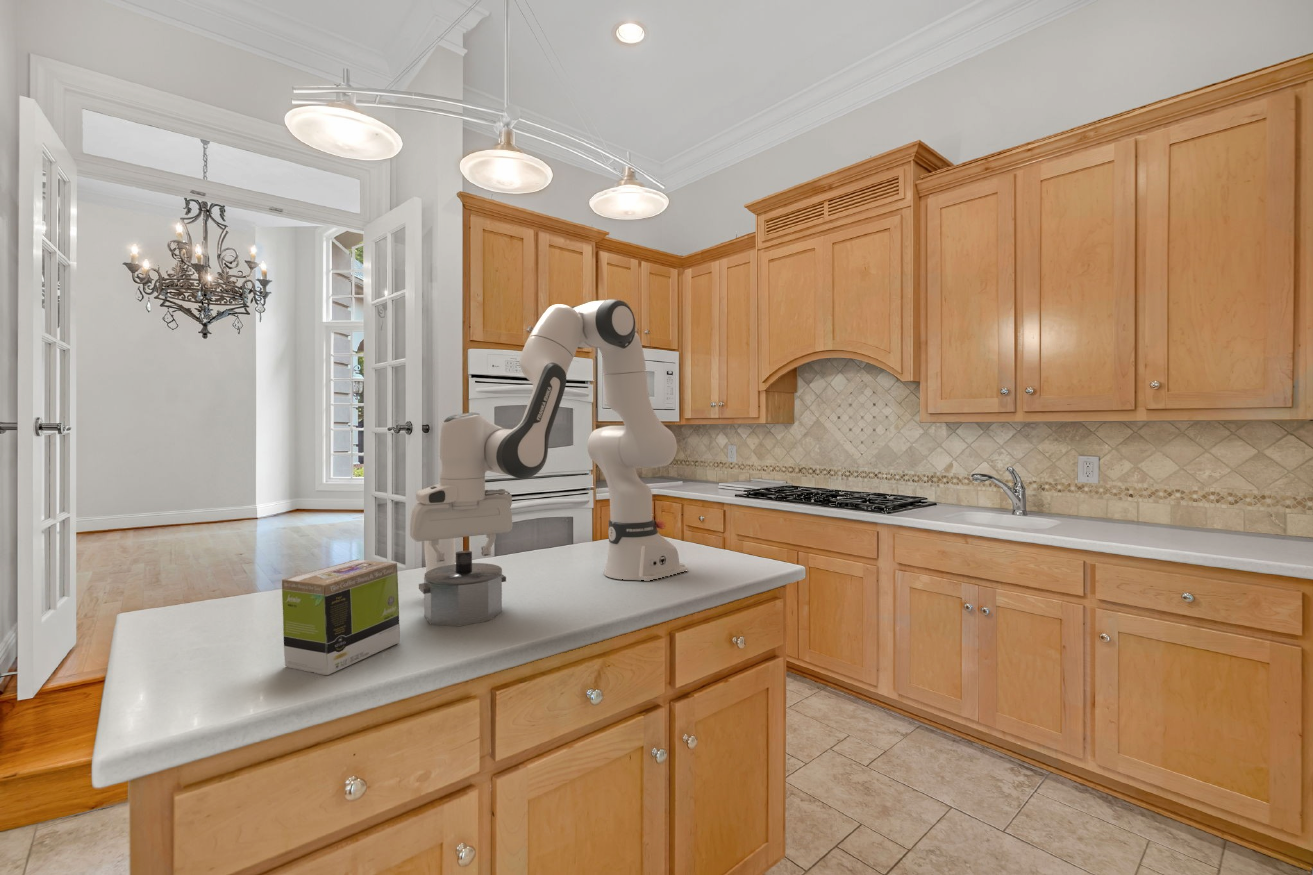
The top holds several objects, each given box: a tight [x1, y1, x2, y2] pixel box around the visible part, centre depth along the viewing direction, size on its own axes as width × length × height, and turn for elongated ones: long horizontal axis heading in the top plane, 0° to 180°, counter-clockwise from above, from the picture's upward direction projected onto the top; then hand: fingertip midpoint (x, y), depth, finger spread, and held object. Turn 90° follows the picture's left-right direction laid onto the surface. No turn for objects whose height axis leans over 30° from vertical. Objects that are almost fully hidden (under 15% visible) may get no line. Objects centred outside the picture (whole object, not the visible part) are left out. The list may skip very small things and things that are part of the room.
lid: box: [424, 550, 503, 585], centre depth 122 cm, size 15×15×6 cm
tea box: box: [281, 558, 401, 676], centre depth 100 cm, size 15×10×15 cm
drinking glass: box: [423, 538, 457, 573], centre depth 134 cm, size 7×7×15 cm
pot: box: [418, 573, 507, 627], centre depth 122 cm, size 17×14×8 cm
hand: (463, 558), depth 122 cm, fingers open, 8 cm apart
